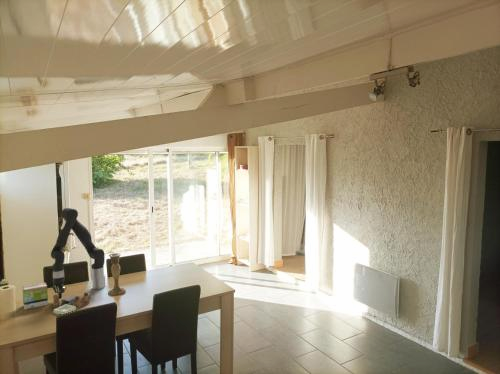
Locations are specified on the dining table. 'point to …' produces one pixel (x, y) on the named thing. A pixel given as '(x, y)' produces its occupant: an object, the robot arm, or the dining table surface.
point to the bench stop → (82, 300)
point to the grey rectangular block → (68, 300)
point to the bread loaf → (56, 301)
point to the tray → (64, 309)
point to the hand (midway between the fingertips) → (59, 298)
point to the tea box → (35, 295)
